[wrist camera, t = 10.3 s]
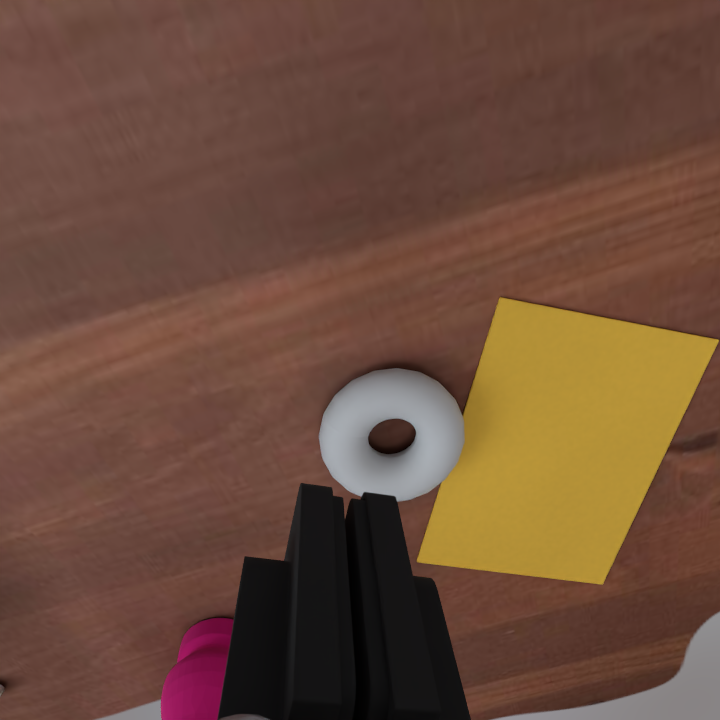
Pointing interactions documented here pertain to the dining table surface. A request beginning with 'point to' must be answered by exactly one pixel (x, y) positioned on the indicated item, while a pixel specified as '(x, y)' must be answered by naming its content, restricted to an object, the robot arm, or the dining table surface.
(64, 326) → the dining table surface
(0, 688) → the tableware set
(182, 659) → the pepper mill
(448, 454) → the donut
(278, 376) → the dining table surface
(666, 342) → the cloth
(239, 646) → the robot arm
